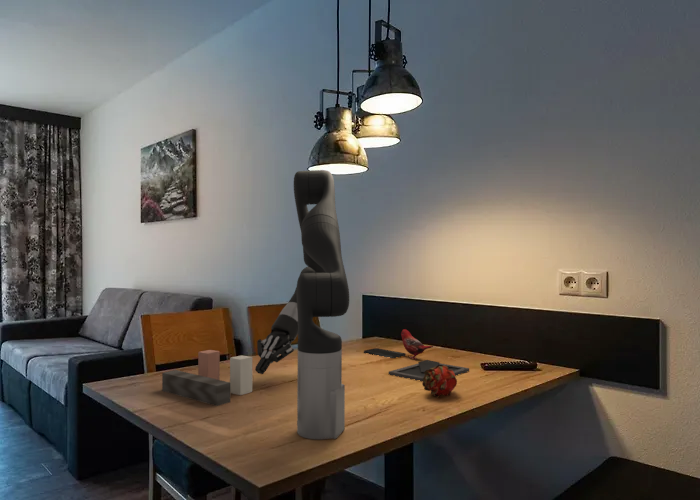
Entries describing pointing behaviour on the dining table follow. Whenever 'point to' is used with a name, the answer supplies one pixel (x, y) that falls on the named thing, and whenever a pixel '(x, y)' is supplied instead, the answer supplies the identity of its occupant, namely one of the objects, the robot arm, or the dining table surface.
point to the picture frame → (419, 369)
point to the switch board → (196, 387)
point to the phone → (384, 353)
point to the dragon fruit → (439, 381)
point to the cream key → (240, 375)
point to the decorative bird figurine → (412, 344)
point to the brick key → (209, 364)
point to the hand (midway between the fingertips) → (258, 372)
